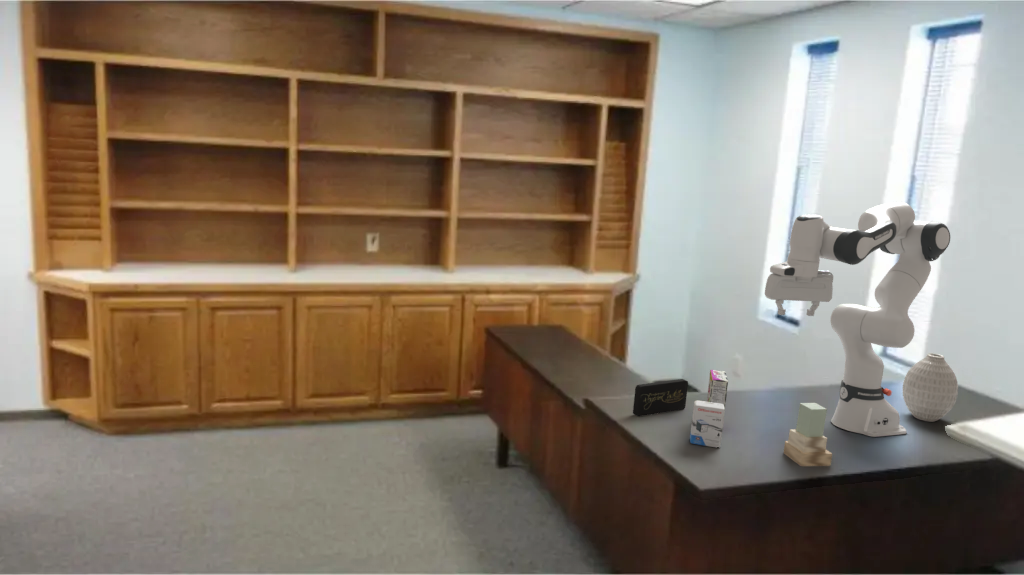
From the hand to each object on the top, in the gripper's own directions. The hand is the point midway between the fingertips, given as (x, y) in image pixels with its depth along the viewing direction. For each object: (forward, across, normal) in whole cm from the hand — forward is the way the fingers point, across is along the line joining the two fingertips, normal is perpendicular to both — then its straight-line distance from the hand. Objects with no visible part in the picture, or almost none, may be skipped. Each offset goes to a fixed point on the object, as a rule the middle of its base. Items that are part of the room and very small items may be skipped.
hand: (795, 315), depth 220 cm
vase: (+37, -62, -14) cm, 74 cm away
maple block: (+34, +3, +20) cm, 39 cm away
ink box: (+37, +28, +8) cm, 47 cm away
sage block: (+30, +3, +19) cm, 36 cm away
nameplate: (+38, +32, -18) cm, 52 cm away
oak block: (+38, +3, +20) cm, 43 cm away
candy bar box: (+37, +19, -6) cm, 42 cm away
